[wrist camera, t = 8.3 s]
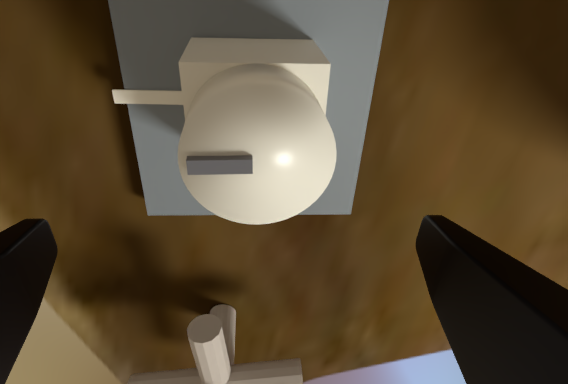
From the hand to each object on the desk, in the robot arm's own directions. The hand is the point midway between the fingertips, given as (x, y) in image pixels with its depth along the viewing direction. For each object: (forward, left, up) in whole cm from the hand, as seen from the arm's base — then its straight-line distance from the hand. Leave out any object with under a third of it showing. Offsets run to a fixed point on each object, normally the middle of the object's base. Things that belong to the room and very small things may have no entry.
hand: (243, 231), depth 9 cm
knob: (0, 0, -9) cm, 9 cm away
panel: (0, 0, -11) cm, 11 cm away
